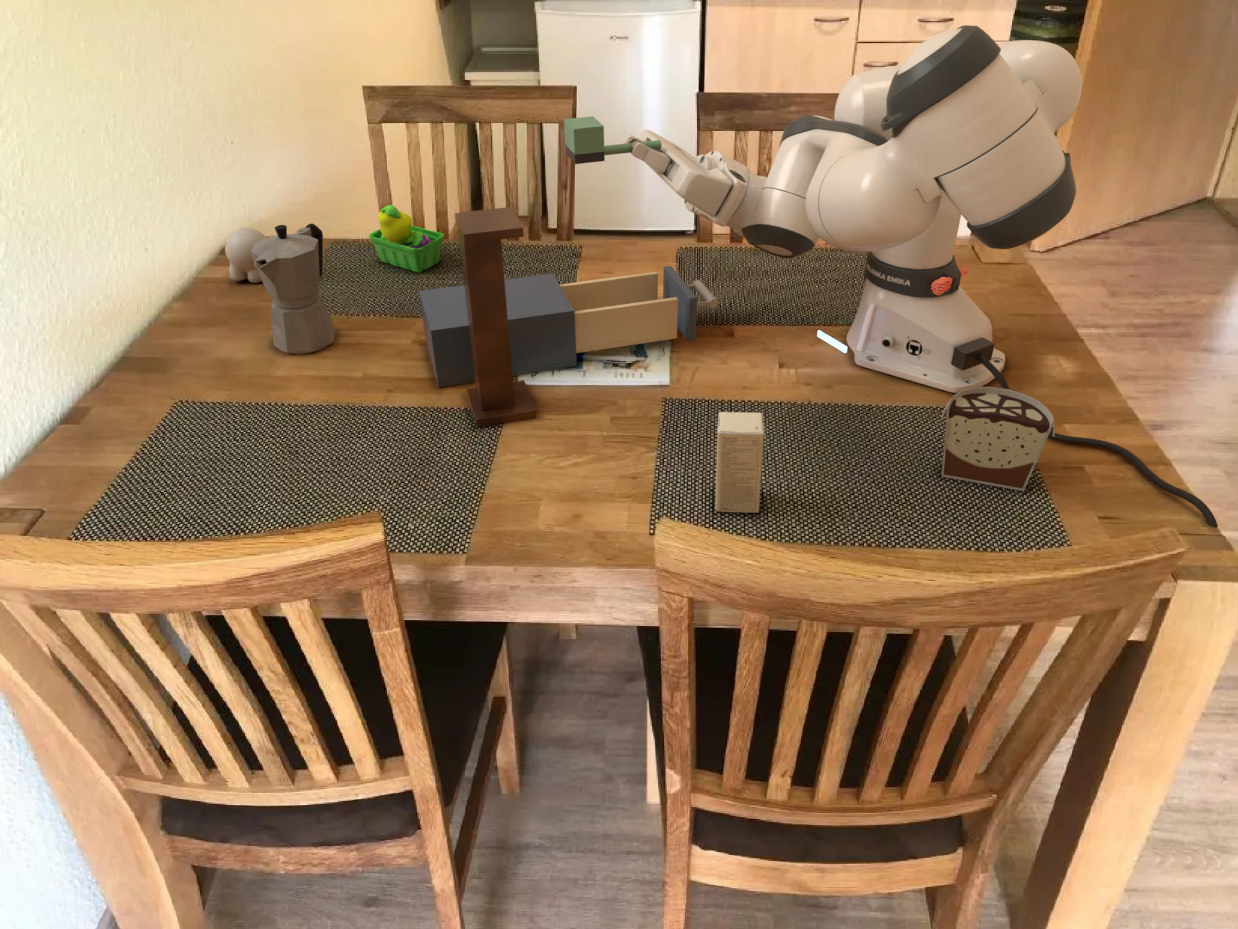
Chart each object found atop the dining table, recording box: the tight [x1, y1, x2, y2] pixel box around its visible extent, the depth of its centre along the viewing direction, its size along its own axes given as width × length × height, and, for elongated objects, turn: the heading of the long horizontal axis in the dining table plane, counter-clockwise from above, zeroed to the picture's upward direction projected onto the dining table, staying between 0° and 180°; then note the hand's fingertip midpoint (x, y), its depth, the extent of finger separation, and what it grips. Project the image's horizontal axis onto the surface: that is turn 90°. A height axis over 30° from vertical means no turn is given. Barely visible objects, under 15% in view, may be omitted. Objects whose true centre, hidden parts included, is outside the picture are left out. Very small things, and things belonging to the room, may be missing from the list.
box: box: [714, 411, 765, 514], centre depth 110 cm, size 5×4×11 cm
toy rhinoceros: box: [224, 227, 268, 284], centre depth 162 cm, size 7×12×8 cm, turn 82°
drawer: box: [559, 265, 719, 354], centre depth 144 cm, size 23×12×7 cm, turn 106°
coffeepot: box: [251, 223, 337, 355], centre depth 142 cm, size 15×9×18 cm, turn 163°
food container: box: [940, 386, 1056, 492], centre depth 115 cm, size 12×6×10 cm, turn 71°
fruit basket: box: [368, 204, 445, 274], centre depth 166 cm, size 11×9×11 cm
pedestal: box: [454, 206, 538, 428], centre depth 123 cm, size 8×8×26 cm
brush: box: [563, 115, 662, 165], centre depth 128 cm, size 12×5×4 cm, turn 107°
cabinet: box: [418, 273, 578, 388], centre depth 140 cm, size 20×13×9 cm, turn 106°
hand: (630, 144), depth 129 cm, fingers closed on brush
